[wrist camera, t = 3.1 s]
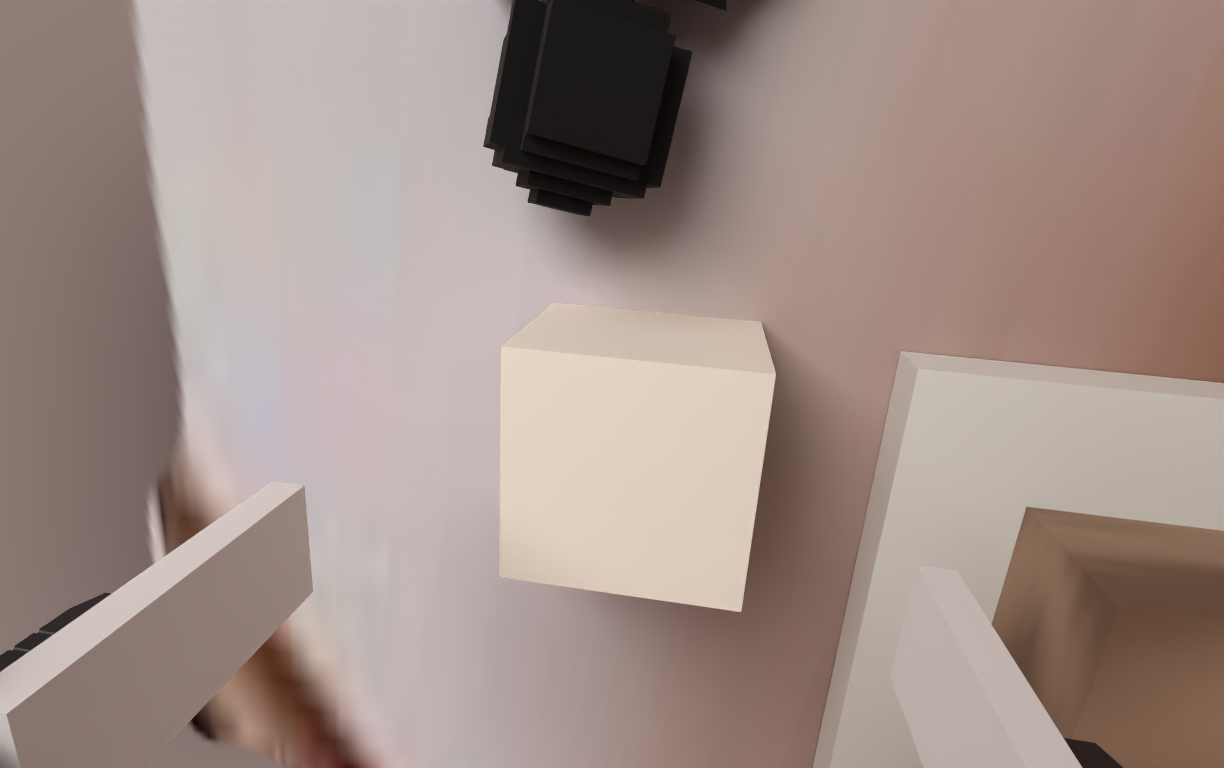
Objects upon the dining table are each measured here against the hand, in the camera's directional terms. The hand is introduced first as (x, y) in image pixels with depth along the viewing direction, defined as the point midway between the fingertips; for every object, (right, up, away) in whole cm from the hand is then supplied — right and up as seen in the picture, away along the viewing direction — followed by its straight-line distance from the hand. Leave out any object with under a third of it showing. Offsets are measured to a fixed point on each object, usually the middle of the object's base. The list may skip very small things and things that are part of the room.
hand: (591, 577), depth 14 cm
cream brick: (+2, +3, +9) cm, 10 cm away
